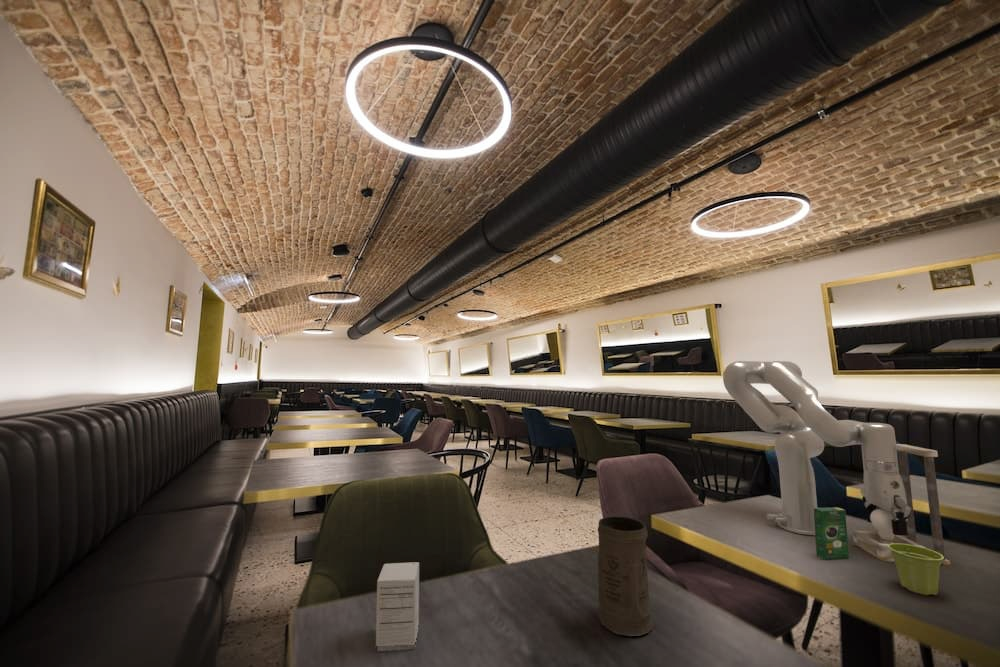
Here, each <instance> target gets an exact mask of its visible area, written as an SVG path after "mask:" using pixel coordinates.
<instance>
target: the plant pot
mask: <svg viewBox="0 0 1000 667" xmlns="http://www.w3.org/2000/svg"><path fill="white" fill-rule="evenodd" d="M888 548H889V549H890V551H891V554H892V555H893V558H894V561H895V562H894V565H895V567H896V572H897V575H898V579H899V583H900V586H902V588H906V589H907V590H908V591H910V592H912V593H917V594H918V595H919V594H920V595H924V596H929V595H932V596H937V595H938V593H939V582H940V581H939V579H940V568H941V561H942V560H944V557H943V555H941V554H940V553H938V552H935V551H934V549H933V550H932V549H929V548H927V547H926V548H923V547H919V546H915V545H909V544H902V543H891V544H888Z"/></svg>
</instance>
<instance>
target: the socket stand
mask: <svg viewBox="0 0 1000 667" xmlns="http://www.w3.org/2000/svg"><path fill="white" fill-rule="evenodd" d="M896 449H897V458H898V468H899V475H900V476H901V478H902V481H903V485H904V489H905V493H906V499H907V505H908V506H909V507H910V508H911V511H910V514H909V515H910V516H909V517H908V521H906V523H907V532H908V535H907V536H902V535H895V537H894V539H893V543H902V544H909V545H915V546H919V547H923V548H927V547H925V546H924V545H921V544H919V543H917V534H916V532H917V531H916V524H915V515H914V514H915V513H914V512H915V511H914V504H913V496H912V486H911V478H910V469H909V457H908V454H911V455H915V456H916V455H917V456H920V457H923V464H924V465H923V466H924V473H925V474H924V476H925V481H926V482H925V483H926V491H927V501H928V502H927V503H928V510H929V519H930V527H931V528H930V529H931V538H932V545H933V547H932V548H933V551H935V552H938V553H940V554H941V555H943V557H944V560H942V561H941V564H944V565H945V566H951V560H948V559H946V555H945V554H946V553H945V546H944V539H943V538H944V536H943V527H942V519H941V510H940V503H939V502H940V501H939V493H938V492H939V491H938V485H937V474H936V466H935V458H938V457H939V454H938V450H936V449H935V450H934V449H929V448H924V447H920V446H915V445H910V444H905V443H904V444H903V443H896ZM852 536H853V539H852V540H853V545H854V546H856V547H857V546H858V547H857V548H859V547H860V548H859V549H861V550H862V551H864V552H866V553H868V554H869V555H871V556H873V557H875V558H876V559H878V560H879V559H880V560H879V561H881V560H882V561H881V562H894V563H895V561H894V558H893V555H892V554H891V551H890V549H889V548H888V544H882V543H881V539H880V536H879V534H878V531H871V530H870V531H869V530H852Z"/></svg>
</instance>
